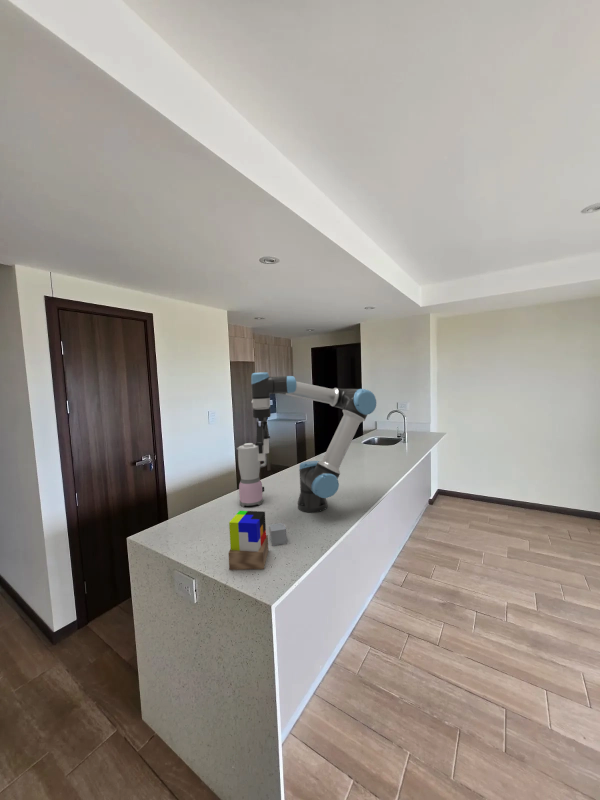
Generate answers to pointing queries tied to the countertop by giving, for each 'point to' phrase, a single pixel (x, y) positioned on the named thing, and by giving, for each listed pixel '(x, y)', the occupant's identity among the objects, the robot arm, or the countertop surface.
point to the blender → (250, 475)
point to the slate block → (277, 534)
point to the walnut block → (248, 558)
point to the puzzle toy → (247, 531)
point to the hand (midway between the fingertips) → (263, 456)
